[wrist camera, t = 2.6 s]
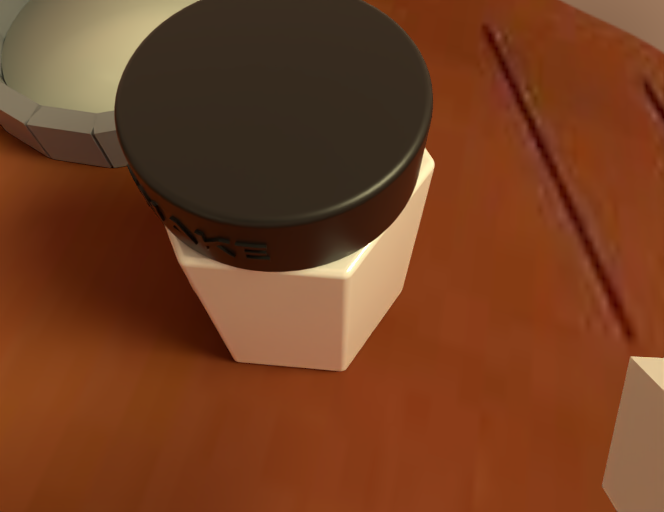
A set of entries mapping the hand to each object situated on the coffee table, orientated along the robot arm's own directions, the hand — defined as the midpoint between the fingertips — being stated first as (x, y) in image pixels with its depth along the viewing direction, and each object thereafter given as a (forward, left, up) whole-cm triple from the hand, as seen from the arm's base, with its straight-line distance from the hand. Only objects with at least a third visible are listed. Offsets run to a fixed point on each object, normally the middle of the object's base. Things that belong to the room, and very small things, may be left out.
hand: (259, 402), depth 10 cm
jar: (-4, +7, -12) cm, 15 cm away
